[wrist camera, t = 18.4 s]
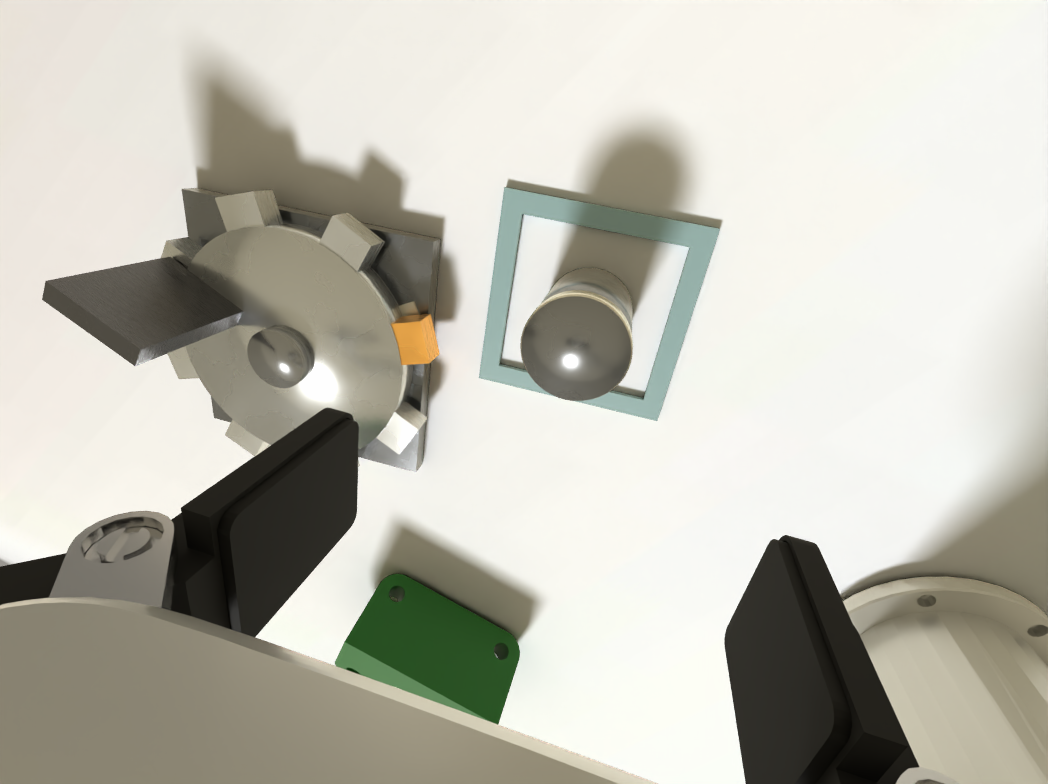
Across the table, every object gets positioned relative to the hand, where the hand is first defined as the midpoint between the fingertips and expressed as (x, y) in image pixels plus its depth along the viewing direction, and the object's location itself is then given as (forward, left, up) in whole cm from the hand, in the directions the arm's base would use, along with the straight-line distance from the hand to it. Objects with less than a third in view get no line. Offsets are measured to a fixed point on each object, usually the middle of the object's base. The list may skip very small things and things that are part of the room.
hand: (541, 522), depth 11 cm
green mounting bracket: (+6, +26, -16) cm, 31 cm away
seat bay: (+1, 0, -16) cm, 16 cm away
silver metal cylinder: (+1, 0, -16) cm, 16 cm away
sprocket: (+16, +5, -15) cm, 22 cm away
